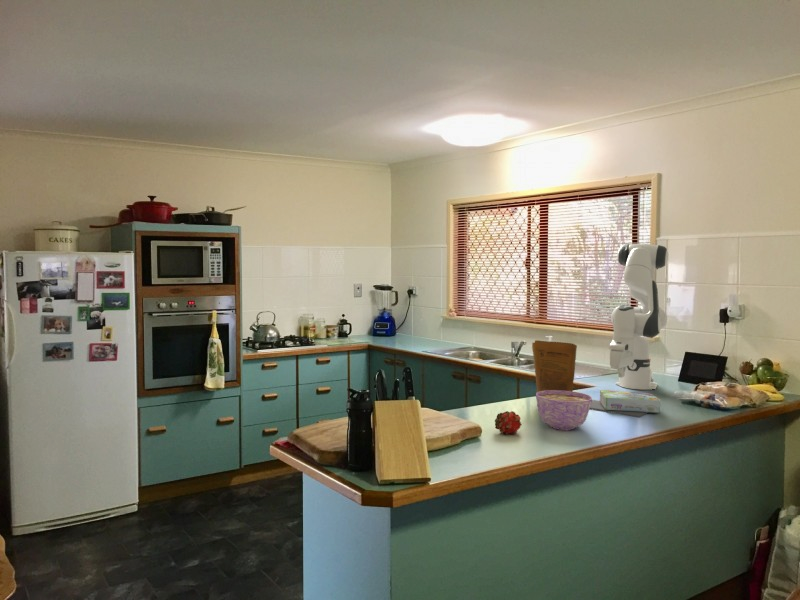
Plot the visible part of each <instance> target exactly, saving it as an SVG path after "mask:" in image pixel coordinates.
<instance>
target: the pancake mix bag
mask: <svg viewBox="0 0 800 600" xmlns="http://www.w3.org/2000/svg"><path fill="white" fill-rule="evenodd" d="M531 345H532V347H531V349H532V355H533V356H532V357H533V365H534V373H535V381H536V382H535V383H536V393H537V392H539V391H546V390H562V391H572V392H574V390H573V389H574V382H575V381H574V380H575V373H576V371H575V370H576V359H577V348H578V345H577V344H574V343H572V342H564V341H548V340H535V341H534V342H532V343H531ZM536 406H537V407H538V405H537V404H536Z"/></svg>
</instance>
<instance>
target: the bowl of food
mask: <svg viewBox="0 0 800 600" xmlns="http://www.w3.org/2000/svg"><path fill="white" fill-rule="evenodd" d="M535 397H536V406H537V405H538V406H537V408H538V409H537V410H538V414H539V416H540V419H541V420H542V421H543V422H544V423H545V424H547V425H549V426H550V427H551V428H552V427H553V428H552V429H555V430H560V431H561V430H563V431H571V429H572V430H574V429H575V428H578V427H579V426H582V425H583V424H584V423H585V422H586V420H587V418H588V414H589V412H590V410H591V409H590V405H591V402H592V400H593V396H591V395H589V394H587V393H583V392H578V391H573V392H572V391H562V390H546V391H539V392H537V391H536V393H535Z"/></svg>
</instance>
